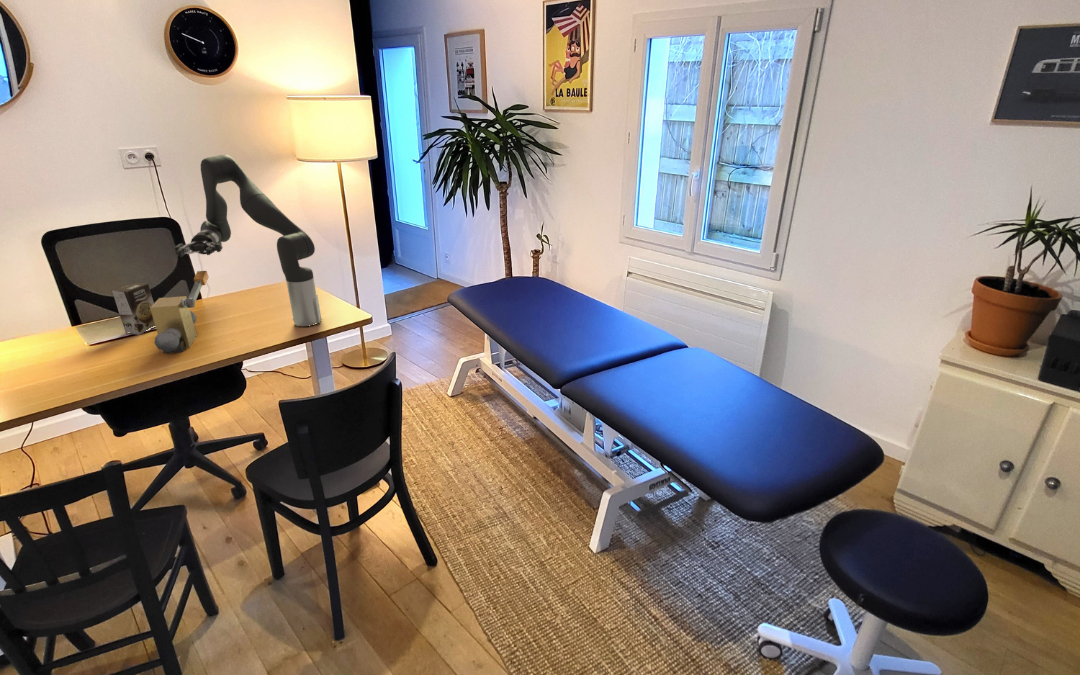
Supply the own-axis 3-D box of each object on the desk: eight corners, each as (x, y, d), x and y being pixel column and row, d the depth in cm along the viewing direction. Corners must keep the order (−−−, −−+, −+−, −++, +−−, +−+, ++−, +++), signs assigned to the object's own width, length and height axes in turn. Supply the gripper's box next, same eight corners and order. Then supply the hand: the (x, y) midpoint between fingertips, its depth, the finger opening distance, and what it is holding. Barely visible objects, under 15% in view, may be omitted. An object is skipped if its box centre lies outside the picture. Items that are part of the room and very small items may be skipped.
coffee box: (140, 335, 194) (126, 291, 187) (124, 333, 195) (110, 290, 188) (161, 325, 202) (148, 283, 195) (146, 323, 203) (133, 281, 196)
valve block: (204, 329, 199) (193, 288, 192) (187, 354, 180) (174, 310, 174) (176, 331, 197) (164, 290, 190) (156, 357, 178) (142, 313, 172)
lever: (195, 309, 184) (208, 277, 201) (192, 300, 182) (206, 270, 199) (185, 309, 184) (199, 278, 200) (182, 301, 182) (197, 270, 199)
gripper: (181, 232, 203) (167, 244, 189) (224, 230, 207) (214, 241, 193) (186, 252, 206) (173, 265, 192) (228, 250, 210) (219, 262, 196)
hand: (193, 253), depth 193 cm, fingers open, 8 cm apart
